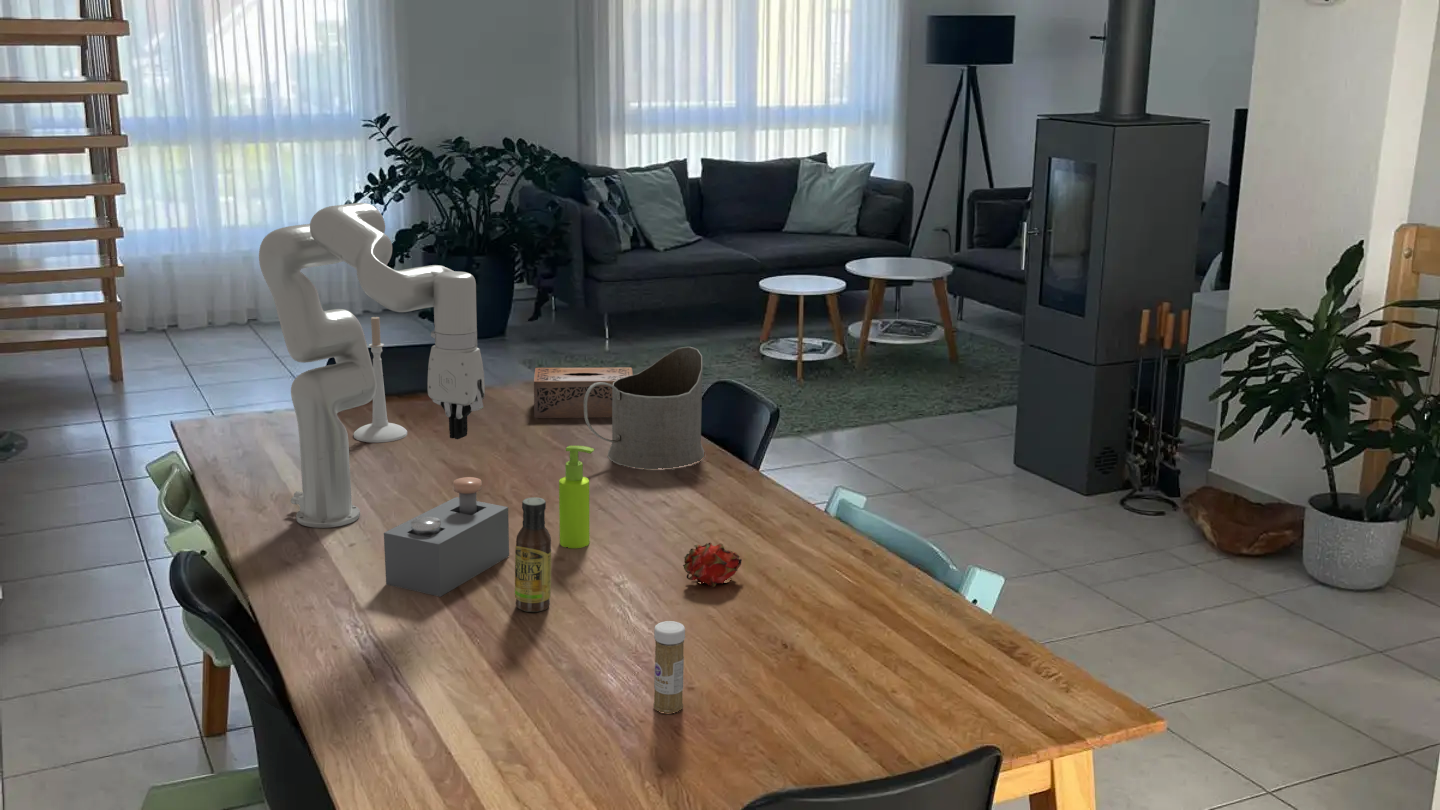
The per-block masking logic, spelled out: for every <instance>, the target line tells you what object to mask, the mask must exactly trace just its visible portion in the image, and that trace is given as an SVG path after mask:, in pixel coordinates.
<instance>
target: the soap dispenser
mask: <svg viewBox="0 0 1440 810" xmlns="http://www.w3.org/2000/svg"><path fill="white" fill-rule="evenodd" d="M594 451H595V448H593V447H590V446H585V445H567V447H566V448H565V452H569V460H568V461H566V462H565V466H564V467H565V470H564V471H565V476H564V477H561V478H560V479H559V480H558V495H559V497H558V501H559V503H558V505H559V506H558V507H559V508H558V510H559V511H558V513H559V545H560V546H561V547H563V548H566V547H568V548H567V549H582V548H585V546H586V547H587V546H589V545H590V478H588V477H586V476H584V470H583V469H584V466H583V465H584V463H583V462H582V461H581V460H579V453H586V454H592V453H593V452H594Z"/></svg>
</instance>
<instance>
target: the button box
mask: <svg viewBox="0 0 1440 810" xmlns="http://www.w3.org/2000/svg"><path fill="white" fill-rule="evenodd" d="M420 517H435V518H438V519H440V521H441V530H440V531H439V532H437V533H435V535H433V536H431V537H425V536H420V535H417V534H415V533H413V532H412V529H411V522H412V520H414V519H416V518H420ZM509 538H510V532H509V507H508V506H503V505H498V504H494V503H489V502H484V501H483V502H482V501H479V500H477V513H475V514H473V515H468V514H463V513H460V506H459V497H458V496H455V497H453V498H452V499H449V500H447V501H444V502H443V503H441V504H439V505H437V506H435V507H433V508H431V509H429V510H427V511H425V512H423V513H421V514H419V515H416V516H415V517H413V518H410V519H409V520H407V521H405V522H403V523H401V524H398V525H396V526H394V527H393V528H391V529H388V530H386V531H384V532H383V543H384V546H383V547H384V565H385V566H384V568H385V569H384V570H385V584H386V585H388V586H392V587H395V588H401V589H406V590H409V591H414V592H419V593H423V594H426V595H432V596H435V597H436V596H437V597H442V596H444V595H446V594H447V593H449V592H451V591H453V590H454V589H456V588H457V587H460V586H461V585H463V584H464V583H466V582H468V581H469V580H471V579H473V578H474V577H476V576H478V575H480V574H481V573H483V572H484V571H486V570H488V569H490V568H492V567H493V566H495V565H497V564H498V563H501V562H502V561H503V560H505V559H507V558H509V557H510V539H509ZM508 556H509V557H508Z"/></svg>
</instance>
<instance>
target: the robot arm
mask: <svg viewBox="0 0 1440 810" xmlns="http://www.w3.org/2000/svg"><path fill="white" fill-rule="evenodd" d="M385 231H386V223H385V219H384V216H383V215H382V213H381V212H380V211H379V209H378V208H376V206H374V205H371V204H369V203H366V202H365V203H364V202H353V203H345V204H338V205H336V204H335V205H330V206H326V207H323V208H321V209H319V210H318V211H317V212H316V213H314V215H313V216H312V218H310V223H306V224H304V223H303V224H295V225H289V226H284V227H280V228H277V229H274V230H272V231H271V232H269V233H268V234H267V235H265V236H264V238H263V239H262V240H261V243H260V245H259V246H260V247H259V252H258V261H259V262H258V263H259V267H260V270H261V272H262V276H263V279H264V280H265V283H266V285H267V286H268V288H269V291H270V293H271V296H272V298H273V301H274V303H275V308H276V313H277V317H278V320H279V321H278V322H279V323H280V327H281V328H280V329H281V331H282V336H283V339H284V343H285V347H286V349H287V351H288V354H289V356H290V357H291V358H292V360H294V361H296V362H298V363H303V364H304V363H313V362H318V361H322V360H328V359H332V358H334V361H335V364H328V365H324V366H320V367H315V368H312V369H308V370H306V371H303V372H301V373H300V374H299V375H297V376H296V377H295V378H294V379H293V381H292V383H291V385H290V396H291V401H292V405H293V409H294V411H295V413H294V414H295V416H296V422H297V430H298V440H299V441H298V442H299V444H298V445H299V453H300V454H299V455H300V457H299V458H300V470H301V471H300V472H301V485H302V491H298V490H297V491H295V492H294V494H293V496H292V497H291V498H290V503H291V504H293V505H298V506H299V510H298V511H297V513H296V514H295V515H296V516H295V519H296V522H297V523H298V524H300V525H302V526H305V527H308V528H314V529H317V528H318V529H327V528H337V527H338V528H339V527H341V526H346V525H349V524H352V523H354V522H355V521H357V520H358V519H360V517H361V510H360V508H359V507H358V506H356V505H354V504H352V487H351V484H352V483H351V468H350V467H351V465H350V463H351V462H350V446H349V445H350V444H349V435H348V431H347V428H346V426H345V425H344V424H343V422H342V421H341V420H340V418H339V416H338V413H339V412H344V411H345V410H347V411H348V410H351V409H353V408H358V407H360V406H361V407H362V406H364V405H366V404H368V403H370V402H371V401H373V397H374V395H375V392H376V379H375V374H374V370H373V361H372V359H371V356H370V351H369V347H368V344H367V340H366V335H365V333H364V329H363V326H362V324H361V323H360V321H359V319H358V318H357V317H356V316H355V314H354V313H352V312H351V311H350V310H348V309H344V308H343V309H342V308H334V309H328V310H324V309H323V307H322V303H321V301H320V295H319V292H318V290H317V288H316V286H315V285H314V284H313V282H312V281H311V280H310V278H308V277H307V276H306V275H305V274H304V273H302V272H301V270H303V269H307V268H315V267H322V266H328V265H329V266H330V265H334V264H339V263H342V262H344V263H345V264H347V265H349V266H350V267H352V268H353V269H355V270H356V276H357V280H358V282H359V285H360V287H361V288H362V290H363V292H364V293H365V294H366V295H367V296H368V297H369V298H370V299H372V300H373V301H375V302H376V303H378V304H379V305H381V306H382V307H384V308H386V309H388V310H390V311H392V312H396V313H408V312H412V311H417V310H421V309H428V308H433V315H434V316H433V319H434V321H433V323H434V330H431V332H430V337H431V338H432V339H434V345H432V346H431V348H430V353H429V358H428V367H427V369H428V370H427V395H428V397H429V398H430V399H431V400H432V402H433V403H435V404H436V405H438V406H441V407H442V409H443V410H444V411H445V416H446V417H447V418H448V430H449V438H450V439H455V440H460V439H463V438H465V437H467V435H468V429H469V427H468V416H470V415H471V413H472V412H475V411H479V410H483V409H484V403H483V400H484V398H485V394H486V392H485V390H486V385H485V384H486V383H485V371H484V364H483V363H484V362H483V358H482V354H481V349H480V348H479V347H478V328H477V326H478V324H477V323H478V322H477V283H476V279H475V277H474V275H473V274H471V273H469V272H466V271H459V270H458V271H456V270H455V271H454V270H452V269H451V268H448V267H445V266H444V265H438V264H432V265H431V264H430V265H425V266H417V267H411V268H406V269H400V270H396V269H393V268H391V267H389V266H388V263H390V260H391V258H392V255H393V244H392V241H391V238H389V236H388V235H386V233H385Z"/></svg>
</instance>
